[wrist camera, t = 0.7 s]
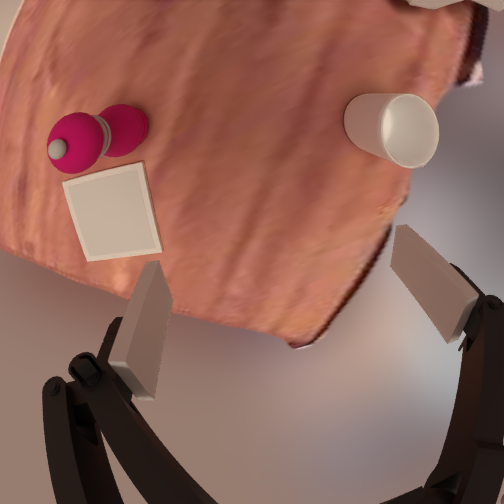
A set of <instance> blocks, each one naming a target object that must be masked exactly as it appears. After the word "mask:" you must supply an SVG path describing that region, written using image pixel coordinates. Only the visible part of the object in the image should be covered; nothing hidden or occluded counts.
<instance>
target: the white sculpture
mask: <svg viewBox="0 0 504 504" xmlns="http://www.w3.org/2000/svg"><path fill="white" fill-rule="evenodd" d="M405 1H407V2H408V3H409V5H412V6H417V7H422V8H427V9H433V10H435V9H438V8H441V7H444V6H447V5H450V4H453V3H456V2H460V1H463V0H405ZM472 1H474V2H477V3H479V4H481V5H484V6H486V7H488V8H490V9H492V10H494V11H496V12H500V11H501V10H503V9H504V0H472Z"/></svg>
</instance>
